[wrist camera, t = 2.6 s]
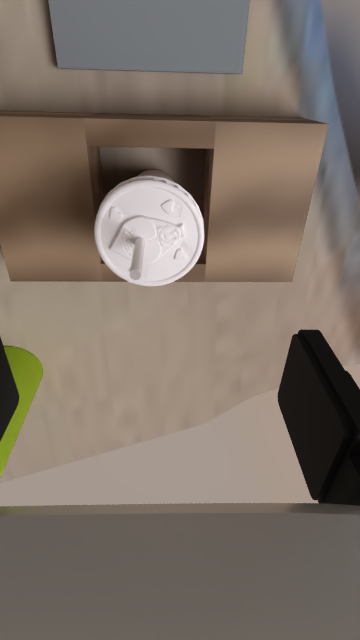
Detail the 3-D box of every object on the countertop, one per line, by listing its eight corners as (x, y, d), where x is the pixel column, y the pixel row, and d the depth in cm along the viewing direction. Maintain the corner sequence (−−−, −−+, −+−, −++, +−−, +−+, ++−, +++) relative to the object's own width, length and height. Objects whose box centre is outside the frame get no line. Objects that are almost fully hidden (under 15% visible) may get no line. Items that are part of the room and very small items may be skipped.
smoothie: (101, 162, 26) (52, 223, 15) (183, 140, 26) (200, 185, 14) (128, 240, 30) (105, 339, 18) (200, 222, 29) (225, 313, 18)
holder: (-6, 110, 24) (-37, 115, 20) (304, 118, 25) (328, 124, 21) (29, 257, 30) (10, 281, 27) (276, 258, 31) (291, 282, 28)
